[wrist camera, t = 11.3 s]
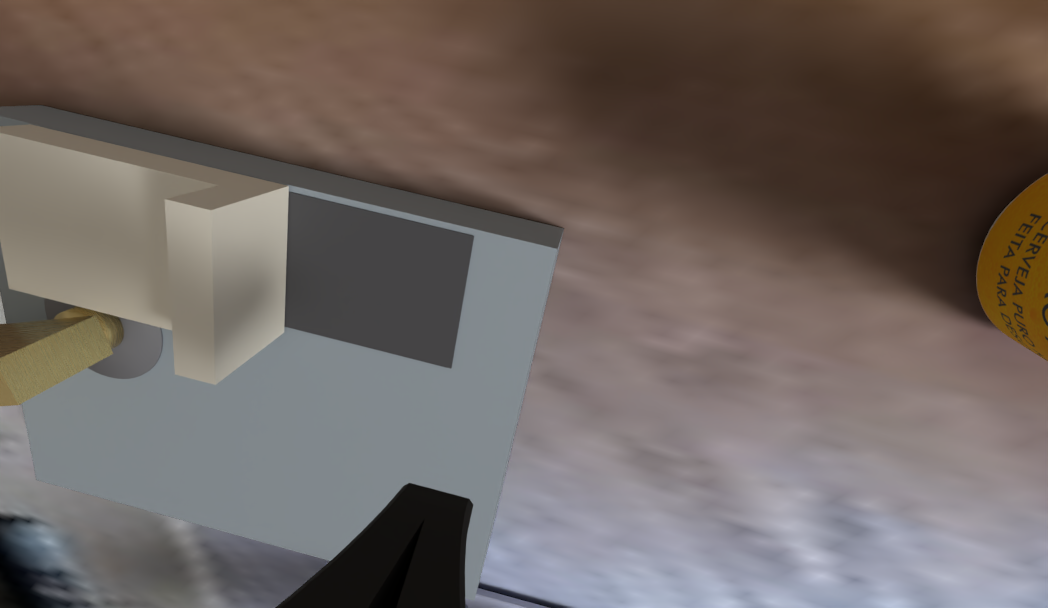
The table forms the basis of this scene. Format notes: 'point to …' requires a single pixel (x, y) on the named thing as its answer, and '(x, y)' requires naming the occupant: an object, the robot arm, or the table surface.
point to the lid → (147, 242)
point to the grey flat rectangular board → (314, 368)
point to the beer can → (1018, 269)
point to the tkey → (53, 350)
